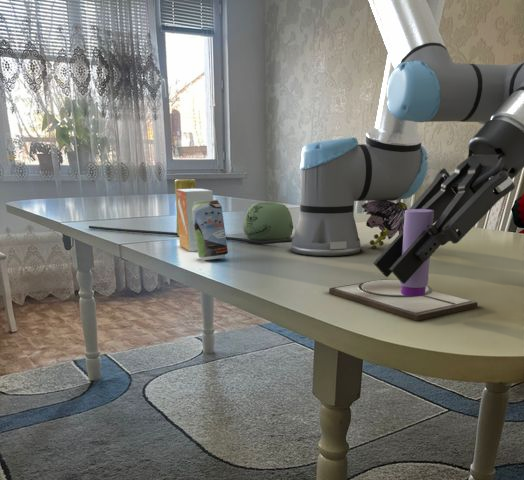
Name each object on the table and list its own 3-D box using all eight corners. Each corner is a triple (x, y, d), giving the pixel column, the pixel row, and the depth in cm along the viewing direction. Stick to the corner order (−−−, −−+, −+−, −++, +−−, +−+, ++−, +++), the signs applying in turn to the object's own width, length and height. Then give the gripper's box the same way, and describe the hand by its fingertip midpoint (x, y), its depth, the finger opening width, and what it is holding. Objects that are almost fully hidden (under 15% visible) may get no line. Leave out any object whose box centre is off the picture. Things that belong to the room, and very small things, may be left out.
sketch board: (328, 293, 84) (329, 286, 84) (391, 282, 91) (392, 275, 90) (417, 321, 70) (417, 312, 69) (484, 305, 77) (485, 298, 76)
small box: (179, 246, 128) (175, 189, 124) (205, 244, 130) (202, 188, 126) (188, 251, 121) (185, 191, 117) (215, 249, 123) (213, 190, 119)
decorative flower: (433, 203, 113) (363, 187, 116) (416, 258, 115) (348, 240, 118) (429, 214, 128) (367, 199, 131) (413, 262, 129) (353, 246, 132)
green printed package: (216, 263, 107) (214, 201, 103) (187, 260, 111) (184, 199, 107) (234, 258, 112) (233, 198, 108) (206, 255, 116) (203, 197, 112)
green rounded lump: (303, 239, 137) (304, 203, 135) (260, 243, 131) (259, 206, 128) (269, 232, 150) (269, 199, 147) (228, 235, 144) (227, 202, 141)
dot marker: (393, 292, 74) (399, 210, 70) (412, 289, 76) (418, 208, 72) (413, 298, 71) (420, 212, 68) (432, 294, 73) (440, 210, 69)
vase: (180, 233, 148) (176, 179, 144) (201, 234, 148) (199, 179, 143) (173, 237, 143) (170, 180, 138) (196, 237, 142) (193, 180, 137)
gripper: (575, 160, 65) (441, 306, 66) (482, 159, 80) (374, 278, 81) (546, 111, 61) (406, 265, 62) (455, 120, 76) (343, 244, 77)
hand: (388, 272), depth 71 cm, fingers closed on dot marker, 4 cm apart
